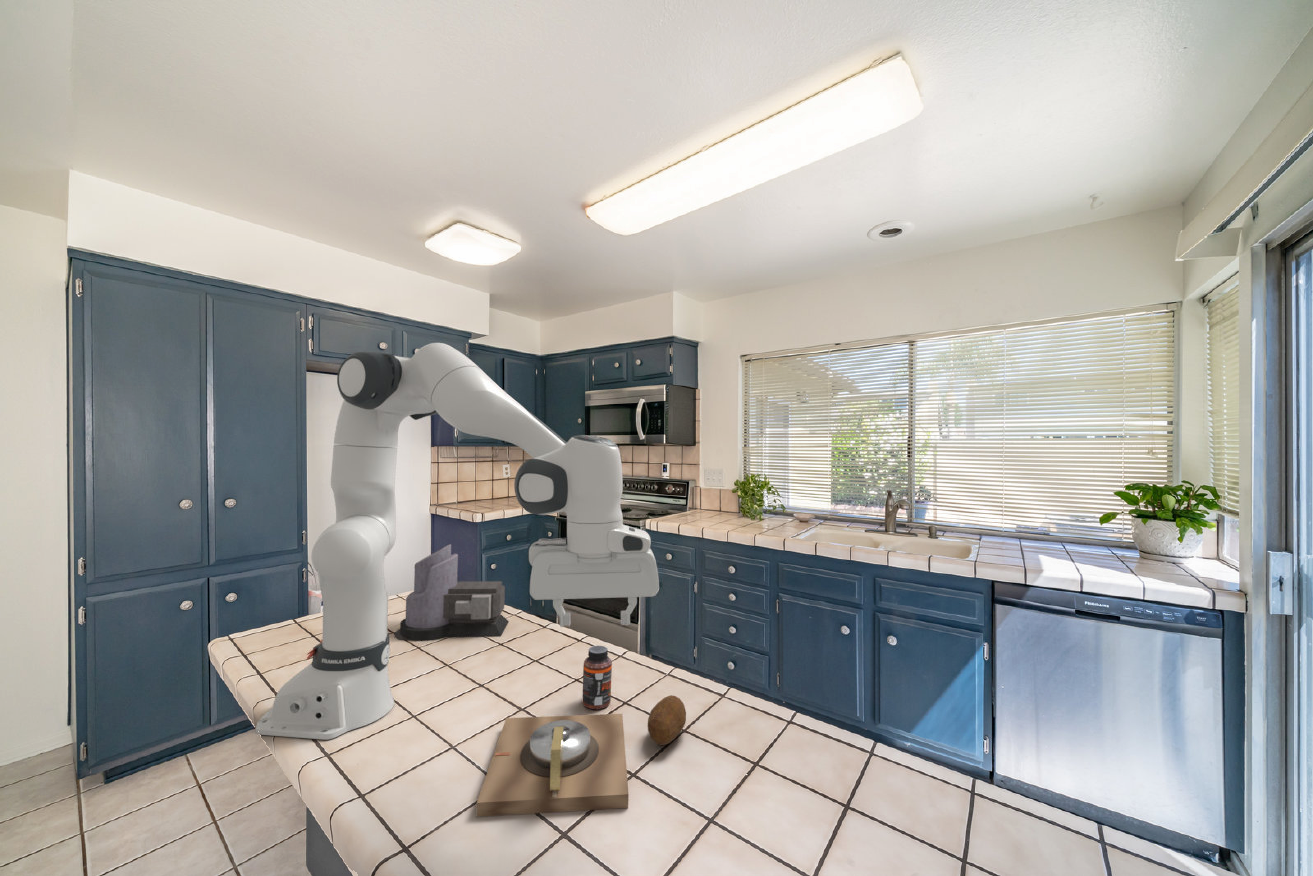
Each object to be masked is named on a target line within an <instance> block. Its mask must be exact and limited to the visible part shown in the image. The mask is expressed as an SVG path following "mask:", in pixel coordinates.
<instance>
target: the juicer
mask: <svg viewBox="0 0 1313 876" xmlns="http://www.w3.org/2000/svg"><path fill="white" fill-rule="evenodd" d="M458 560H459V554H457V553H453V554H452V544H448V545H446V546H444V547H443V548H440V549H439V550H438V549H437V550H436V551H435V552H433V553H431V554H429V555H428V556H427V555H426V557H424V558H423V559H420V560H419V561H417V562H416V563H415V564H414V579H413V582H414V583H413V585H414V586H413V591H412V592H410V593H409V594H408V595H407V596H406V598H405V618H403V619H402V620H401V621H400V624H399V625H400V626H399V628H398V629H397V630H396V631H395V633H394V635H393V636H394V638H395V639H396V640H397V641H410V642H429V641H436V640H440V639H444V638H451V639H452V638H495V637H496V638H498V637H502V635H503V633H504V632H505V630H506V628H507V626H508V624H509V620H508V619H507V618H506V617H504V615H502V613H503V611H504V609H505V601H506V600H505V596H506V595H505V593H506V592H505V591H506V590H505V588H506V586H505V585H503V581H501V580H499V581H498V580H497V581H495V580H494V581H493V580H492V581H491V580H490V581H487V580H485V581H476V580H475V581H473V580H471V581H458V567H459V566H458V565H459V564H458V563H459V561H458Z"/></svg>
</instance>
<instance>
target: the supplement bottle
mask: <svg viewBox="0 0 1313 876" xmlns="http://www.w3.org/2000/svg"><path fill="white" fill-rule="evenodd" d="M608 651H609V650H608V647H607V646H605V645H593V646H591V647H589V649H588V652H587V653H588V654H587V655H588V657H586V658H585V659H584V660H583V661H584V662H583V665H582V666H583V670H582V671H583V672H582V698H581V699H582V704H583V706H584V707H585V708H587V709H589V710H602V709H604V708H606V707H608V706H609V705H610V704H611V700H612V699H611V697H612V696H611V695H612V671H613V670H612V669H613V668H612V667H613V666H612V665H613V663H612V659H611V658H610V657H609V656H608V654H609V652H608Z"/></svg>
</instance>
